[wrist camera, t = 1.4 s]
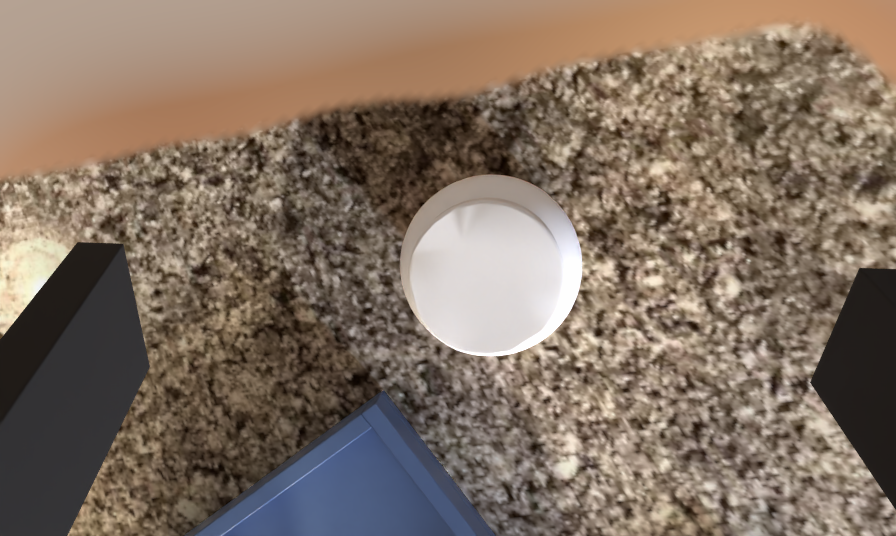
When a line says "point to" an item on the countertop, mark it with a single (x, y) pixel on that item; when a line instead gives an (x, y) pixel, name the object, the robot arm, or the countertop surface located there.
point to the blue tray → (354, 487)
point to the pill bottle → (491, 265)
